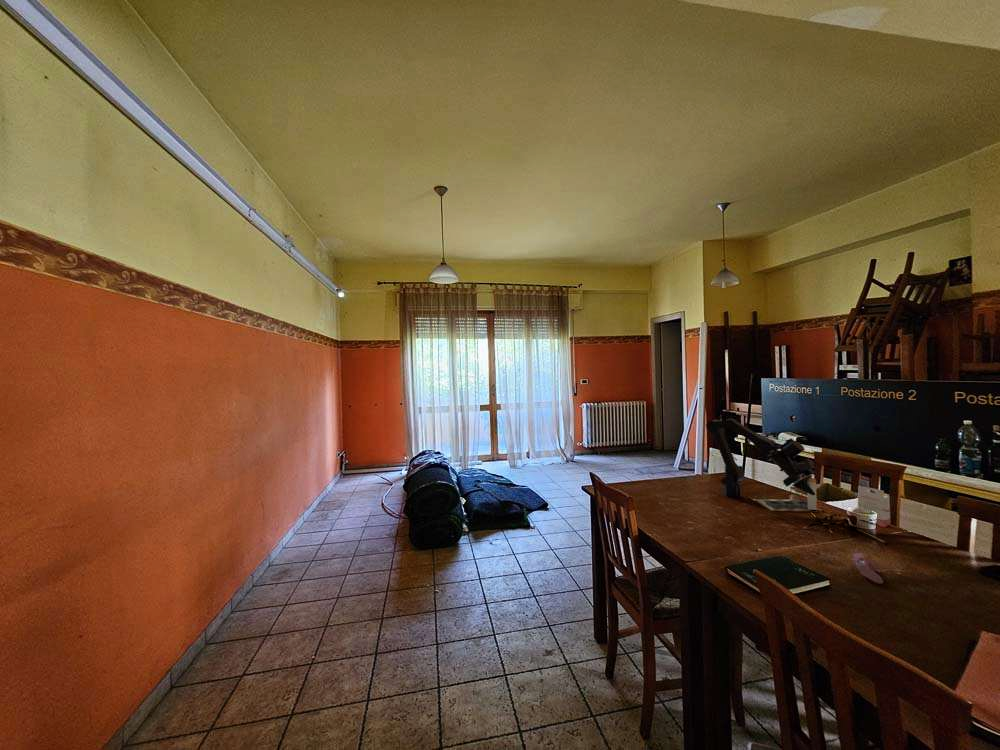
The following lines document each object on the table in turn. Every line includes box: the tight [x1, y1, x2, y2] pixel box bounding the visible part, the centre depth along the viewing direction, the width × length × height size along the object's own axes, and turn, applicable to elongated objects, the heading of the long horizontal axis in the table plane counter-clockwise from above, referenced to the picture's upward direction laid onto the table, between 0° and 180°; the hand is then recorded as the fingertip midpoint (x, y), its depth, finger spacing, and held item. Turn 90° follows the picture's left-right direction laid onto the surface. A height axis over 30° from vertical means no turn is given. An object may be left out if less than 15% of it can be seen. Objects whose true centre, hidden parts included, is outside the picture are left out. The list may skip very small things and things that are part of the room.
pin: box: [806, 477, 818, 511], centre depth 161 cm, size 3×3×13 cm
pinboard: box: [756, 494, 811, 512], centre depth 173 cm, size 19×12×4 cm, turn 84°
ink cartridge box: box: [857, 485, 891, 528], centre depth 153 cm, size 9×5×15 cm, turn 25°
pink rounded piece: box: [852, 552, 884, 585], centre depth 116 cm, size 10×5×7 cm, turn 142°
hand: (815, 494), depth 160 cm, fingers closed on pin, 3 cm apart
